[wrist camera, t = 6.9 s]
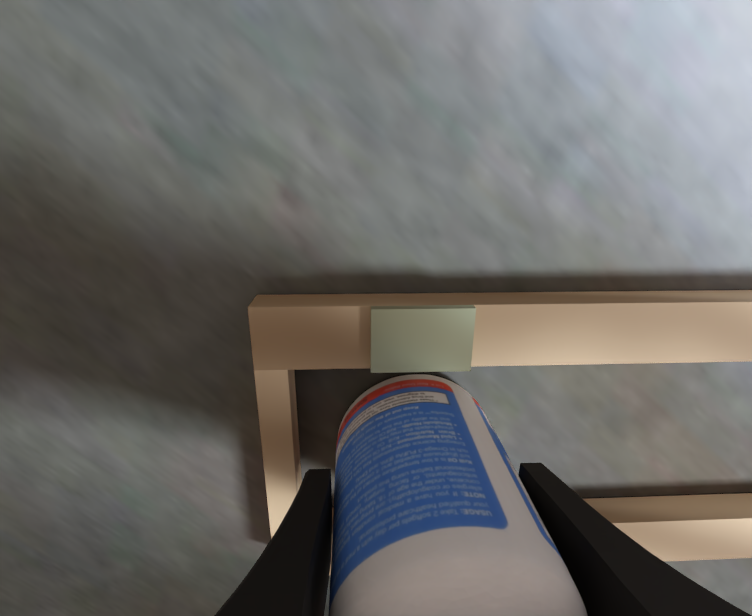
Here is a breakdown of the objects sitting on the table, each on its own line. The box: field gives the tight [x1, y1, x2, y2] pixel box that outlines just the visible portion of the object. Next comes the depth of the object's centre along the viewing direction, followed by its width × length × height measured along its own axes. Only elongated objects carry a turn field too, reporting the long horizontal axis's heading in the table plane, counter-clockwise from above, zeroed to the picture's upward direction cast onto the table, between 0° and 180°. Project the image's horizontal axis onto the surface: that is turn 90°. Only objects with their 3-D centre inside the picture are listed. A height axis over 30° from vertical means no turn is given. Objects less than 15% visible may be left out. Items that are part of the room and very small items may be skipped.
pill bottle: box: [329, 374, 588, 616], centre depth 10 cm, size 6×5×10 cm
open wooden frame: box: [248, 290, 752, 575], centre depth 15 cm, size 10×24×2 cm, turn 90°
